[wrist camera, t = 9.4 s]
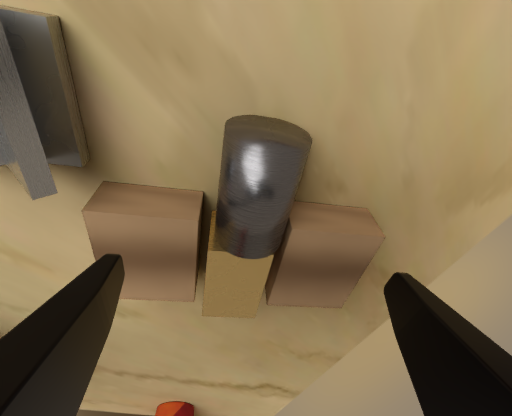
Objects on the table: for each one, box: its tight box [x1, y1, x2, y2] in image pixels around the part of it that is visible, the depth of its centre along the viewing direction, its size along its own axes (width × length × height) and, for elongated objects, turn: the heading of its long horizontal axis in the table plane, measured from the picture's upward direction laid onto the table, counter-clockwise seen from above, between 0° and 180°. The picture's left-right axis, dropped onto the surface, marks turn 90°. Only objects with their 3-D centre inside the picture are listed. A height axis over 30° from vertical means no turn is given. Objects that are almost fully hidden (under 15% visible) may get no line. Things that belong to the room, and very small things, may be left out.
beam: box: [82, 181, 385, 308], centre depth 19 cm, size 8×18×3 cm, turn 80°
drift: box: [202, 210, 274, 318], centre depth 20 cm, size 7×4×4 cm, turn 170°
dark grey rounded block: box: [214, 115, 312, 259], centre depth 15 cm, size 7×4×4 cm, turn 170°
